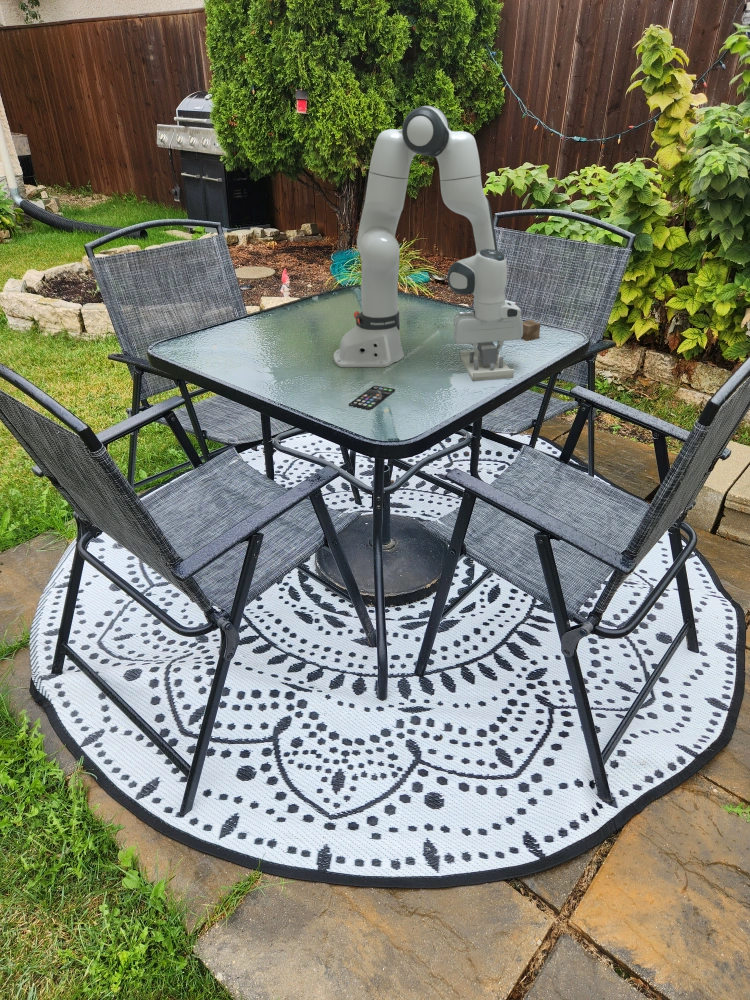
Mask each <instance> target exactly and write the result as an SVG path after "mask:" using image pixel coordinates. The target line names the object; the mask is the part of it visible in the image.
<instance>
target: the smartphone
mask: <svg viewBox="0 0 750 1000" xmlns="http://www.w3.org/2000/svg"><path fill="white" fill-rule="evenodd" d="M395 392H396V389H395V388H390V387H386V386H379V385H372V386H371V387H370V388H369V389H366V391H365V392H363V393H362V394H360V395H359V396H358V397H356V398H355V399H354V400H352V401H351V402H349V403H348V406H349V407H350V406H353V407H352V408H355V407H357V408H356V409H360V408H361V410H365V409H366V410H365V411H372V410H373V409H375V408H376V407H377V406H378V405H379V404H381V403H382V402H384V401H385V400H386V399H388V397H390V396H391V395H392V394H394V393H395ZM371 409H372V410H371Z"/></svg>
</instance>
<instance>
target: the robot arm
mask: <svg viewBox="0 0 750 1000" xmlns="http://www.w3.org/2000/svg"><path fill="white" fill-rule="evenodd" d="M404 118H405V119H404V121H403V123H402V128H401V129H394V128H390V129H385V130H382V131H381V132H380V133H379V134H378V136H376V137H377V138H376V140H375V144H374V147H373V151H372V155H371V159H370V165H369V170H368V177H367V183H366V191H365V198H364V204H363V207H362V208H363V209H362V213H361V217H360V222H359V227H358V232H357V237H356V248H357V251H358V252H359V256H360V258H361V281H360V282H361V283H360V284H361V285H360V294H361V295H360V296H361V297H360V298H361V312H360V311H357V310H356V311H355V312H354V313H353V318H354V319H355V325H354V327H352V328H351V329H350V330H349V331H347V332H346V333H345V334H343V336H342V337H341V340H340V345H339V348H338V349H336V350H335V351H334V353H333V361H334V364H335V363H336V364H337V366H339V368H384V367H385V368H386V367H388V366H391V364H393V363H395V362H396V363H397V362H398V361H401V360H402V359H403V358H404V356H405V353H404V350H403V346H402V343H401V336H400V329H401V328H400V327H401V316H400V315H401V314H400V310H399V306H398V305H399V304H398V302H399V300H398V285H399V283H398V282H399V270H400V253H401V251H400V250H401V249H400V245H399V242H398V240H397V239H396V233H397V228H398V224H399V221H400V218H401V214H402V212H403V210H404V206H405V199H406V194H407V187H408V183H409V182H408V181H409V175H410V169H411V165H412V161H413V159H414V157H415V156H416V155H417V154H418V155H422V156H427V157H428V156H429V157H434V158H436V161H437V163H438V168H439V169H438V170H439V181H440V182H439V183H440V194H441V198H442V201H443V203H444V204H445V206H446V207H447V208H448V209H449V210H450V211H452V212H453V213H456V214H458V215H461V216H463V217H466V218H467V219H468V220H469V222H470V224H471V226H472V231H473V237H474V238H473V239H474V243H475V249H476V252H475V255H472V256H469V257H466V258H462V259H460V260H457V261H455V262H453V263H452V264H450V266H449V267H448V270H447V275H446V276H447V277H446V279H447V284H448V286H449V288H450V290H451V291H452V292H453V293H455V294H456V295H461V296H462V295H473V296H474V300H473V310H468V311H460V312H458V313H456V314H455V315H454V317H453V326H454V330H453V341H454V342H455V343H456V344H457V345H468V344H471V346H472V347H473V350H475V356H476V357H481V350H480V349H477V346H478V343H483V342H493V343H496V342H497V345H495V346H496V347H497V355H500V350H501V349H502V347H503V346H504V342H507V341H517V340H522V339H521V337H522V336H523V319H522V317H521V315H522V310H521V308H520V307H519V306H518V305H515V304H514V303H510V302H506V301H505V300H506V295H505V291H506V290H505V289H506V287H507V282H508V281H507V280H508V279H507V278H508V265H507V264H508V263H507V259H506V258H507V257H506V255H505V254H504V253H503V252H502V251H500V250H499V249H498V245H497V238H496V237H497V236H496V233H495V232H496V231H495V225H494V219H493V214H492V213H493V212H492V207H491V204H490V201H489V199H488V197H487V196H486V195H485V192H484V189H483V184H482V175H481V163H480V162H481V161H480V155H479V150H478V146H477V142H476V139H475V137H474V135H473V134H472V133H470V132H468V131H462V130H457V131H453V130H451V129H450V124H449V123H450V122H449V120H448V117H447V116H446V114H445V113H444V112H443V111H442V110H441V109H439V108H437V107H434V106H432V105H424V106H423V105H422V106H420V107H416V108H415V109H412V110H411V111H410V112H409V113H408V114H407V115H406V117H404ZM336 364H335V365H336Z"/></svg>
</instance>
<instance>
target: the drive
mask: <svg viewBox="0 0 750 1000" xmlns="http://www.w3.org/2000/svg"><path fill="white" fill-rule="evenodd" d="M494 343H495V342H483V343H478V346H476V347H477V349H480V350H481V357H478V359H479V360H480V362H481V363H482V365H483V366H484V365H490V363H494V365H496V360H497V347H496V346H497V345H496V344H494Z"/></svg>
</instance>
